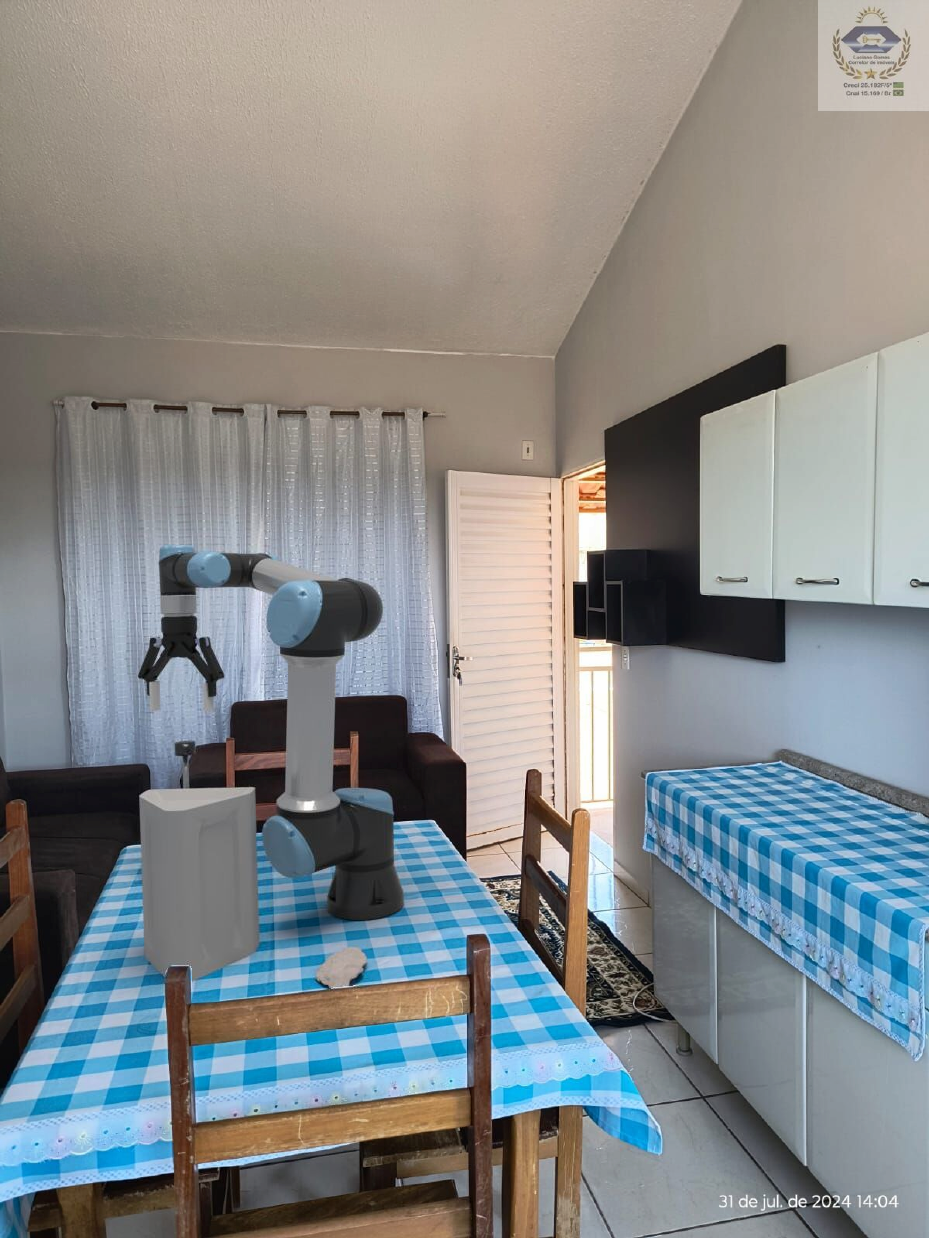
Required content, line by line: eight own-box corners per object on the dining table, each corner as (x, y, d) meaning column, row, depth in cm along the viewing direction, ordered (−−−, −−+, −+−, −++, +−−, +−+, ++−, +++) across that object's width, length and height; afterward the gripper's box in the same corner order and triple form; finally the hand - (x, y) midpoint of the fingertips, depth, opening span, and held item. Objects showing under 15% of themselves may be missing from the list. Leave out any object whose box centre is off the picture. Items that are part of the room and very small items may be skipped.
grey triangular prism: (120, 984, 131) (114, 812, 130) (153, 944, 146) (148, 789, 145) (239, 981, 131) (234, 809, 130) (260, 941, 146) (256, 786, 145)
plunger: (158, 833, 179) (155, 745, 179) (182, 822, 187) (179, 738, 187) (192, 835, 177) (190, 746, 176) (215, 824, 185) (212, 739, 184)
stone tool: (365, 997, 126) (367, 959, 141) (365, 976, 126) (368, 941, 141) (311, 997, 125) (319, 960, 140) (312, 977, 126) (320, 942, 140)
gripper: (238, 614, 180) (241, 709, 181) (141, 615, 187) (144, 707, 188) (219, 615, 173) (222, 714, 174) (119, 616, 180) (122, 712, 180)
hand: (182, 711), depth 181 cm, fingers open, 13 cm apart
